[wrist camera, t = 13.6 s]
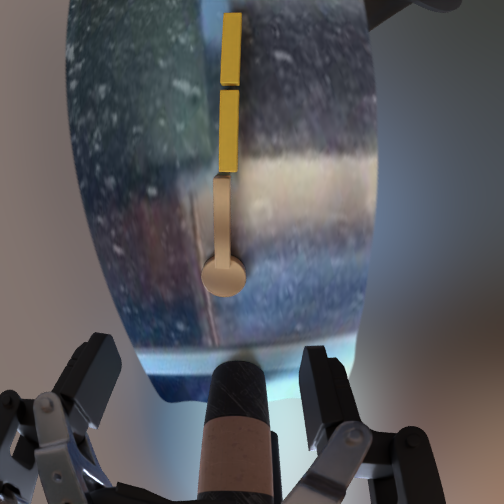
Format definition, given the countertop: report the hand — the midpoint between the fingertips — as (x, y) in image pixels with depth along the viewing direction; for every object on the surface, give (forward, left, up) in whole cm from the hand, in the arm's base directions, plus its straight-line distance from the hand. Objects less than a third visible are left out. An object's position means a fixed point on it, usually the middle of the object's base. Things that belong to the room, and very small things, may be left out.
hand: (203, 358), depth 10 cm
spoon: (+1, +1, -17) cm, 17 cm away
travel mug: (+10, +19, -17) cm, 27 cm away
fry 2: (-4, -7, -17) cm, 19 cm away
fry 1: (-8, -14, -17) cm, 23 cm away
